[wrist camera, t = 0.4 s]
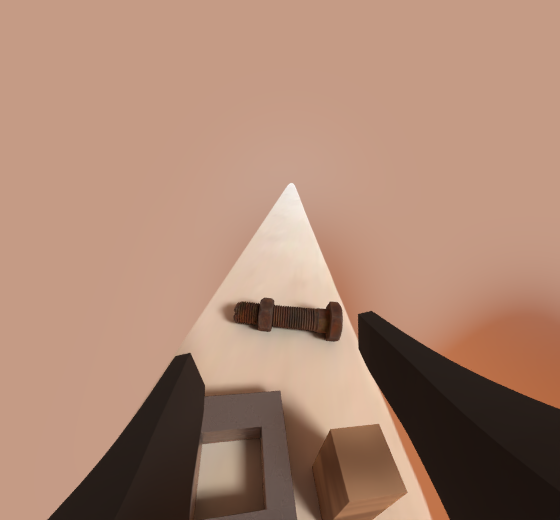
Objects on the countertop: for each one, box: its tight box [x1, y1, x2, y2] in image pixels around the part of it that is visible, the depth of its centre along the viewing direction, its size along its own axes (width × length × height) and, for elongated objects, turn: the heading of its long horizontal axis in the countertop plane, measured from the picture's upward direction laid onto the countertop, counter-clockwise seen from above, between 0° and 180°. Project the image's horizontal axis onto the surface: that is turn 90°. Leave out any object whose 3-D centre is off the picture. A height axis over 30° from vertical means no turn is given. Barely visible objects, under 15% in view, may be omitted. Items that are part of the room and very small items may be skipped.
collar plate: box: [189, 391, 297, 520], centre depth 19 cm, size 16×10×2 cm, turn 7°
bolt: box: [234, 298, 343, 341], centre depth 35 cm, size 6×5×15 cm
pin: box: [312, 424, 407, 520], centre depth 19 cm, size 4×4×8 cm
